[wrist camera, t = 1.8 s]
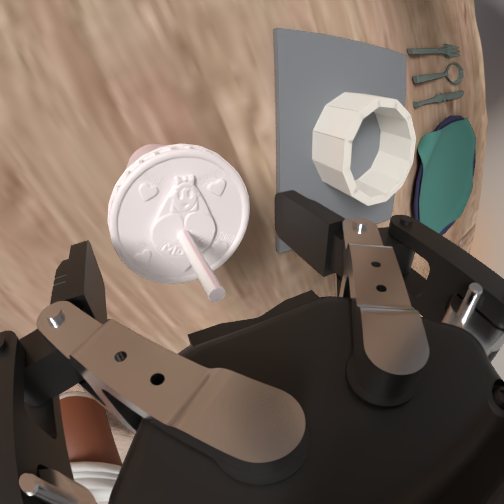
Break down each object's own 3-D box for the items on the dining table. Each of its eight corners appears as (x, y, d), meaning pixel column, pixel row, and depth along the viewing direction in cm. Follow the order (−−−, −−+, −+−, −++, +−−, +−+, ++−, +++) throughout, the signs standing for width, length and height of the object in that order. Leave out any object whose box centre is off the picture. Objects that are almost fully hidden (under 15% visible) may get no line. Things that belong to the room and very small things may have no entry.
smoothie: (110, 215, 20) (129, 368, 9) (107, 127, 17) (97, 184, 6) (193, 206, 23) (288, 331, 12) (198, 124, 19) (323, 176, 9)
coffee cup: (37, 382, 23) (43, 482, 14) (113, 384, 28) (137, 481, 19) (52, 422, 27) (65, 504, 17) (116, 422, 31) (138, 502, 22)
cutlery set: (401, 256, 41) (412, 263, 39) (390, 43, 23) (407, 43, 21) (462, 206, 45) (471, 211, 43) (461, 45, 27) (474, 47, 25)
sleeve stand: (273, 29, 18) (308, 20, 14) (402, 54, 23) (436, 58, 20) (276, 250, 29) (302, 276, 25) (387, 217, 34) (414, 233, 30)
